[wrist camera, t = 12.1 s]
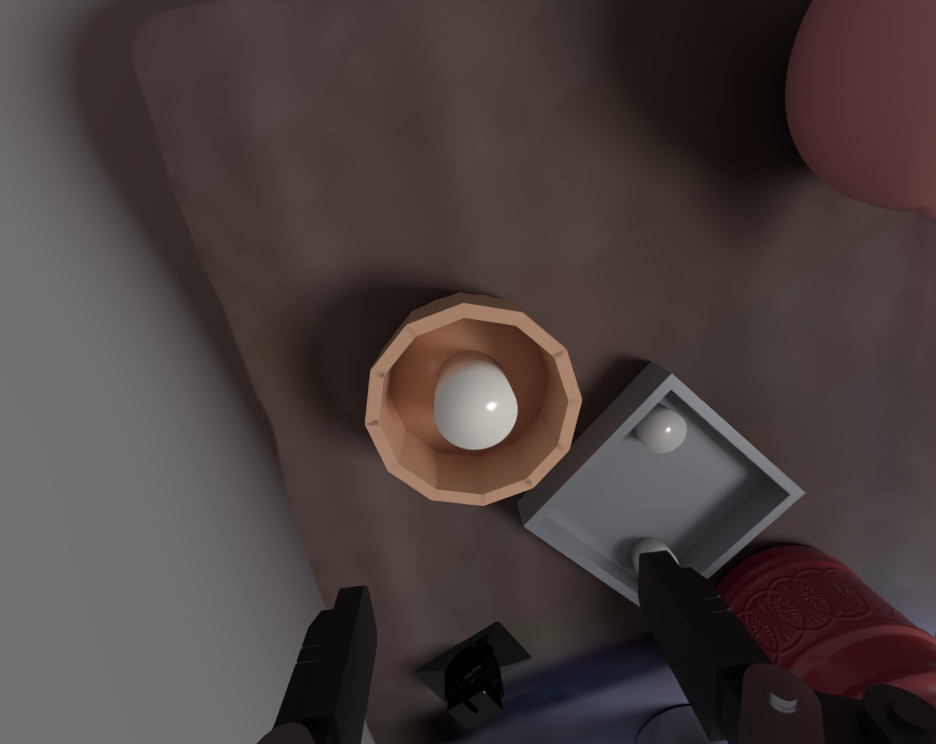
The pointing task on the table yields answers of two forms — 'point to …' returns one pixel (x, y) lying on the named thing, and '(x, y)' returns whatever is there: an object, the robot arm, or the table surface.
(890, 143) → the balloon
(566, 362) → the terracotta bowl
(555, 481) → the parts tray
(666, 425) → the small pebble
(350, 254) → the table surface
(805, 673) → the canister
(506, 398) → the pale stone
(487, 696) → the black bracket
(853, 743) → the robot arm
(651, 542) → the small pebble
